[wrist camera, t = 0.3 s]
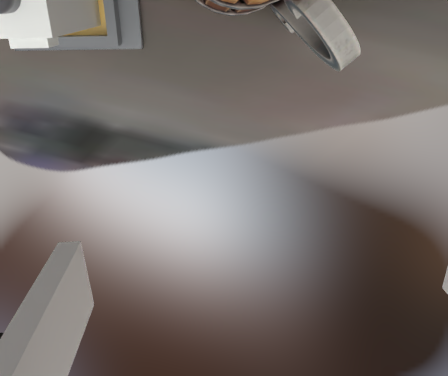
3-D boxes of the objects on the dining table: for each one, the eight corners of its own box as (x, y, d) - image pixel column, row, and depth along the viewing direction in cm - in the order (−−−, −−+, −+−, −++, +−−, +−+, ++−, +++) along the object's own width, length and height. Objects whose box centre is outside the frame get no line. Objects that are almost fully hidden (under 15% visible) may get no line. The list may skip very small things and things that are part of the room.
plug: (36, -35, 33) (-72, -55, 20) (93, -35, 33) (21, -56, 20) (49, 35, 35) (-42, 57, 22) (102, 34, 35) (42, 55, 22)
